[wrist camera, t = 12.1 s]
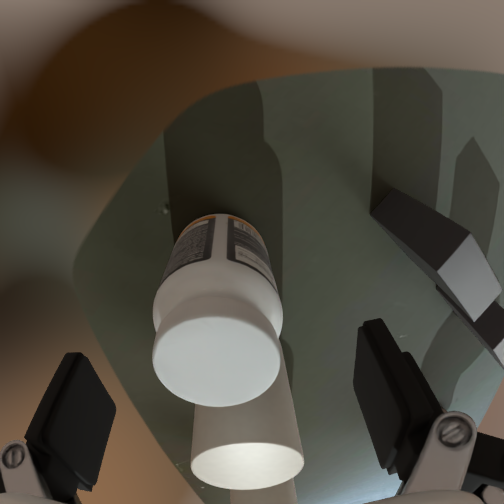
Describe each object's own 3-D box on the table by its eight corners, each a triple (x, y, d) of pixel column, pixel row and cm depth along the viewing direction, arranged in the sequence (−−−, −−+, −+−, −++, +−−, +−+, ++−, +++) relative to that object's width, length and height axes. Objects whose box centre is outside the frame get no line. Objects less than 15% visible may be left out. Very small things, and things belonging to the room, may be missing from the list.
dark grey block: (369, 214, 20) (436, 271, 12) (393, 187, 19) (471, 232, 12) (410, 259, 21) (474, 322, 14) (432, 235, 20) (503, 290, 13)
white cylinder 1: (184, 356, 23) (169, 471, 14) (234, 305, 22) (238, 428, 12) (246, 389, 25) (253, 496, 16) (297, 346, 23) (327, 459, 14)
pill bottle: (184, 298, 21) (159, 417, 12) (168, 215, 19) (116, 308, 10) (269, 290, 21) (294, 409, 12) (263, 205, 19) (293, 293, 10)
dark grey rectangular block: (435, 288, 22) (492, 350, 15) (455, 266, 22) (517, 322, 14) (458, 316, 24) (507, 374, 16) (476, 297, 23) (529, 351, 16)
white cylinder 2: (217, 449, 29) (217, 533, 20) (255, 424, 27) (264, 518, 18) (261, 464, 31) (268, 540, 21) (299, 441, 29) (315, 524, 20)
